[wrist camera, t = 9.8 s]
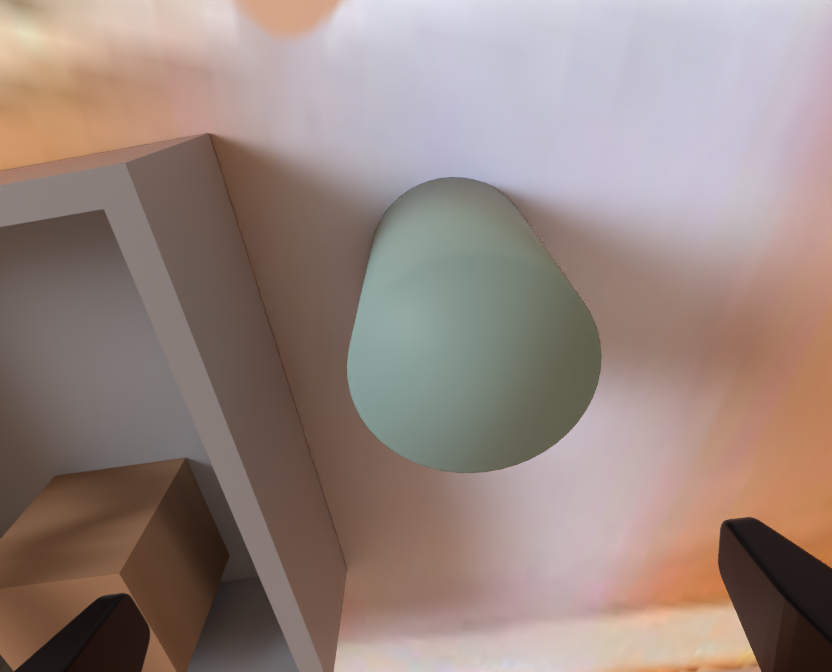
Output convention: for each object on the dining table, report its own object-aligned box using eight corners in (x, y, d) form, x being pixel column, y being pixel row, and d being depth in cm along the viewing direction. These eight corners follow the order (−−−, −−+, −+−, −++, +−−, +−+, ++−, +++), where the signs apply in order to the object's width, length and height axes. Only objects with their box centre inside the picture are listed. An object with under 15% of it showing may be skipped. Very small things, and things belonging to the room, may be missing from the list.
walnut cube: (185, 457, 20) (119, 573, 15) (229, 555, 22) (182, 681, 17) (54, 475, 20) (-48, 594, 16) (111, 570, 22) (35, 698, 18)
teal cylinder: (525, 163, 16) (599, 231, 10) (537, 318, 18) (602, 456, 12) (355, 192, 16) (319, 275, 10) (387, 341, 18) (374, 486, 12)
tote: (208, 133, 15) (124, 162, 11) (347, 568, 23) (331, 690, 19) (-231, 212, 16) (-474, 270, 12) (44, 605, 24) (-40, 729, 20)
